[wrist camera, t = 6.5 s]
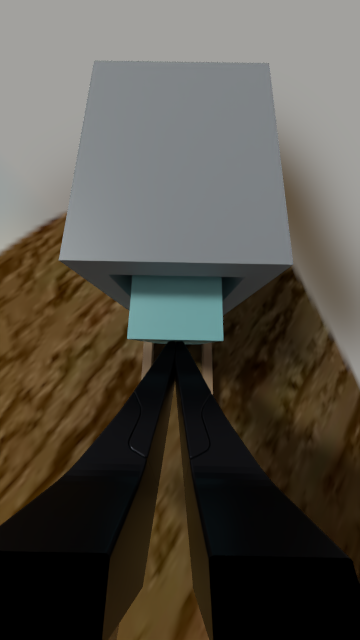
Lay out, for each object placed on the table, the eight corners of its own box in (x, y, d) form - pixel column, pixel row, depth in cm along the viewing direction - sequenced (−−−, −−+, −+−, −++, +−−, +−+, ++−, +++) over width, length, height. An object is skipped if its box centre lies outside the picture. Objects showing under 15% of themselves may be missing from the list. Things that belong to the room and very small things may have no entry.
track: (210, 414, 14) (213, 420, 13) (142, 412, 14) (138, 418, 13) (209, 320, 16) (211, 317, 15) (147, 318, 16) (145, 316, 15)
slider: (197, 344, 15) (223, 340, 6) (158, 343, 15) (127, 338, 6) (197, 270, 17) (218, 182, 8) (161, 269, 17) (140, 180, 8)
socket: (216, 320, 16) (293, 264, 5) (140, 318, 16) (58, 260, 5) (215, 233, 18) (268, 60, 7) (146, 232, 18) (94, 57, 7)
